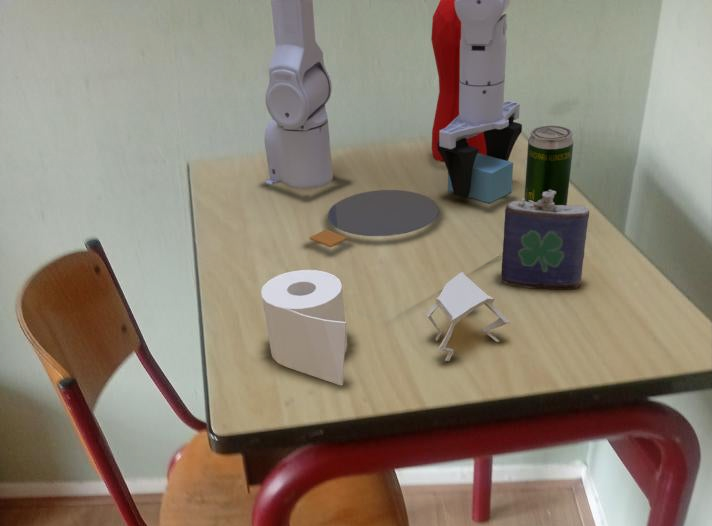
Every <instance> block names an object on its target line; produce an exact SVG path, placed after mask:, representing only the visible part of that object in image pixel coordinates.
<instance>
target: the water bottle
mask: <svg viewBox="0 0 712 526" xmlns="http://www.w3.org/2000/svg"><path fill="white" fill-rule="evenodd" d="M454 2H455V0H439V2H438V4H437V6H436V9H435V10H434V13H433V15H432V20H431V22H432V23H431V36H430V37H431V39H430V40H431V45H432V50H433V55H434V56H433V57H434V60H435V65H436V71H437V76H438V96H437V102H436V107H435V113H434V119H433V125H432V130H431V153H432V157H433V160H434V159H435V160H437V161H439V162H444V160H443V158H442V156H441V155H440V153H439V151H438V150H437V142H438V141H439V131H440V130H442V129H444V128H446V127H447V126H448V125H449V124H450V123H451V122H452V121H453V120H454V119H455V118H456V117H457V116H458V115H459V83H460V40H461V21H460V20H459V18H458V16H457V14H456V10H455V3H454ZM467 143H469V146H471V147H475V148H478V149H479V151H478V153H479V154H483V155H487V150H486V143H485V137H484V133H483V132H482V133H480V134H477V135H475V136H473V137H471V138H469V139H467ZM444 163H445V162H444Z"/></svg>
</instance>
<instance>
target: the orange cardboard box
mask: <svg viewBox="0 0 712 526" xmlns="http://www.w3.org/2000/svg"><path fill="white" fill-rule="evenodd" d="M308 239H309V240H311V241H313V242H315V243H318V244H321V245H324V246H327V247H329V248H332V247H334V246H337V245H339V244H341V243H342V242H344V241H347V240H348V237H347V236H345V235H342V234H339V233H336V232H334V231H332V230H329V229H324V230H322V231H319V232H318V233H315V234H313V235H311V236H309V238H308Z"/></svg>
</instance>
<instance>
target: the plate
mask: <svg viewBox="0 0 712 526" xmlns="http://www.w3.org/2000/svg"><path fill="white" fill-rule="evenodd" d="M439 213H440V207H439V205H438V204H437V203H436V202H435V201H434V199H432V198H430V197H428V196H427V195H425V194H421V193H418V192H413V191H409V190H401V189H380V190H371V191H370V190H369V191H364V192H360V193H356V194H353V195H350V196H347V197H345V198H343V199H341V200H339V201H338V202H337V201H336V203H335V204H333V205H332V206H331V207H330V209H329V211H328V213H327V219H328V221H329V222H330V223H331V225H332V226H333V227H334V228H336V229H338V230H339V231H343V232H345V233H348V234H352V235H356V236H364V237H390V236H391V237H392V236H398V235H403V234H408V233H412V232H415V231H418V230H420V229H422V228H425V227H427V226H429V225H430V224H431V223H433V222H434V221H435V220H436V219H437V218H438V216H439Z"/></svg>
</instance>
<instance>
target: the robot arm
mask: <svg viewBox="0 0 712 526" xmlns="http://www.w3.org/2000/svg"><path fill="white" fill-rule="evenodd" d="M313 1H314V0H270V5H271V14H272V25H273V33H274V35H273V36H274V45H275V46H274V50H273V53H272V56H271V60H270V63H269V66H268V75H269V76H268V79H269V81H268V86H267V88H266V92H265V106H266V109H267V112H268V114H269V116H270V118H271V119H270V120H269V121H268V123H267V125H266V127H265V130H264V138H263V139H264V147H265V149H264V150H265V154H266V155H265V156H266V162H267V169H268V175H269V179H267V180H265V184H266V186H272V185H273V184H276V183H278V182H281V183H284V184H285V185H286V186H288V187H289V188H295V189H301V190H302V189H303V190H304V189H305V190H306V189H315V188H321V187H323V186H326V185H328V184H329V183H331V182H332V181H333V180H334V173H333V161H332V151H331V140H330V139H331V138H330V129H329V127H330V126H329V119H328V113H327V108H326V104H327V103H328V102H329V100H330V98H331V95H332V90H333V89H332V87H333V86H332V80H331V77H330V75H329V72H328V71H327V69H326V66H325V59H324V53H323V51H322V48H321V47H320V46H319V44H318V43H317V41H316V31H315V29H316V28H315V16H314V2H313ZM454 3H455V10H456V14H457V16H458V18H459V20H460V21H461V40H460V83H459V115H458V116H457V117H456V118H455V119H454V120H453V121H452V122H451V123H450V124H449V125H448V126H447V127H446V128H444V129H442V130H440V131H439V141H438V142H437V150H438V151H439V153H440V155H441V156H442V158H443V160H444V164H445V167H446V168H447V169H446V170H447V174H448V173H449V176H450V180H451V184H452V188H453V192H454V193H453V192H452V193H453V195H454V196H455V197H458V198H462V199H467V198H469V197H468V196H469V193H470V186H471V175H472V169H473V165H474V161H475V158H476V156H477V153H478V151H479V149H478V148H475V147H471V146H469V143H467V139H469V138H471V137H473V136H475V135H477V134H480V133H482V132H483V133H484V137H485V143H486V150H487V156H490V157H494V158H498V159H502V160H506V161H509V159H510V155H511V153H512V150H513V148H514V146H515V144H516V142H517V140H518V138H519V136H520V135H521V133H522V131H523V124H522V123H520V122H516V120H518V119H520V109H521V103H520V102H515V101H510V100H507V101H505V102H504V98H505V81H506V80H505V79H506V58H507V39H508V38H507V17H508V15H507V14H506V13H505V11H507V9H508V7H509V6H510V4H511V0H455V2H454Z"/></svg>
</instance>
